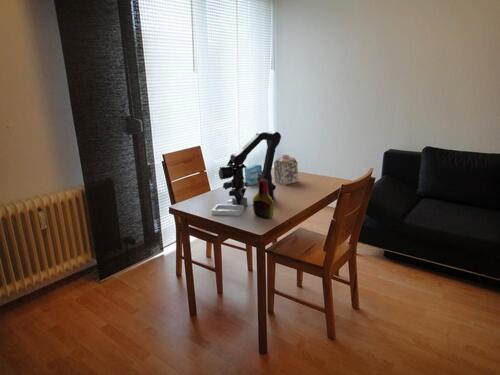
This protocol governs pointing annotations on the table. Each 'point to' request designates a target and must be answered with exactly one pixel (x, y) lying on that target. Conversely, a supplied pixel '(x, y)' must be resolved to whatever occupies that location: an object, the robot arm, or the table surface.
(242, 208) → the dock tray
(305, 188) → the table surface
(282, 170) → the decorative jar
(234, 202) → the plug
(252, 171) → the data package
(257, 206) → the bottle
